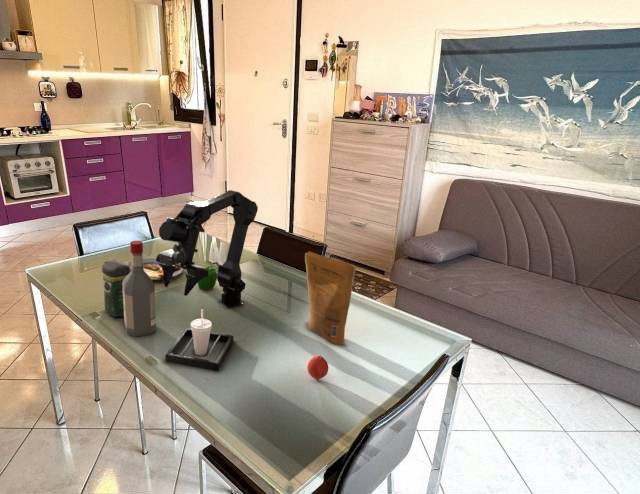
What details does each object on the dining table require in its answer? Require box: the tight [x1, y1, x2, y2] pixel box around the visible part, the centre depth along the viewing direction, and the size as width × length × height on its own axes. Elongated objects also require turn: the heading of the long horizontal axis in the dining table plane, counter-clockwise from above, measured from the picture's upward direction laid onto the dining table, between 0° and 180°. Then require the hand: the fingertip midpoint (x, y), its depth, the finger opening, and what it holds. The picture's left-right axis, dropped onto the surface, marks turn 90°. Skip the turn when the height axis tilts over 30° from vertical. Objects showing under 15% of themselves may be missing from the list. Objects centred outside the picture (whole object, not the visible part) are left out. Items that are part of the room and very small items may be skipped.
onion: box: [306, 354, 329, 381], centre depth 121 cm, size 6×6×8 cm
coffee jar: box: [101, 259, 130, 318], centre depth 150 cm, size 10×8×19 cm
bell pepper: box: [196, 264, 218, 292], centre depth 174 cm, size 8×8×10 cm
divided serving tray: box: [164, 327, 235, 372], centre depth 132 cm, size 16×16×2 cm
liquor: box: [122, 240, 157, 338], centre depth 138 cm, size 9×9×30 cm
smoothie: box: [190, 308, 213, 356], centre depth 130 cm, size 6×6×14 cm
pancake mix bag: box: [304, 250, 357, 346], centre depth 141 cm, size 7×19×28 cm, turn 37°
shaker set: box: [208, 240, 228, 266], centre depth 198 cm, size 12×4×11 cm, turn 43°
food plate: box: [126, 257, 185, 281], centre depth 187 cm, size 25×23×4 cm
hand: (175, 291), depth 139 cm, fingers open, 9 cm apart
